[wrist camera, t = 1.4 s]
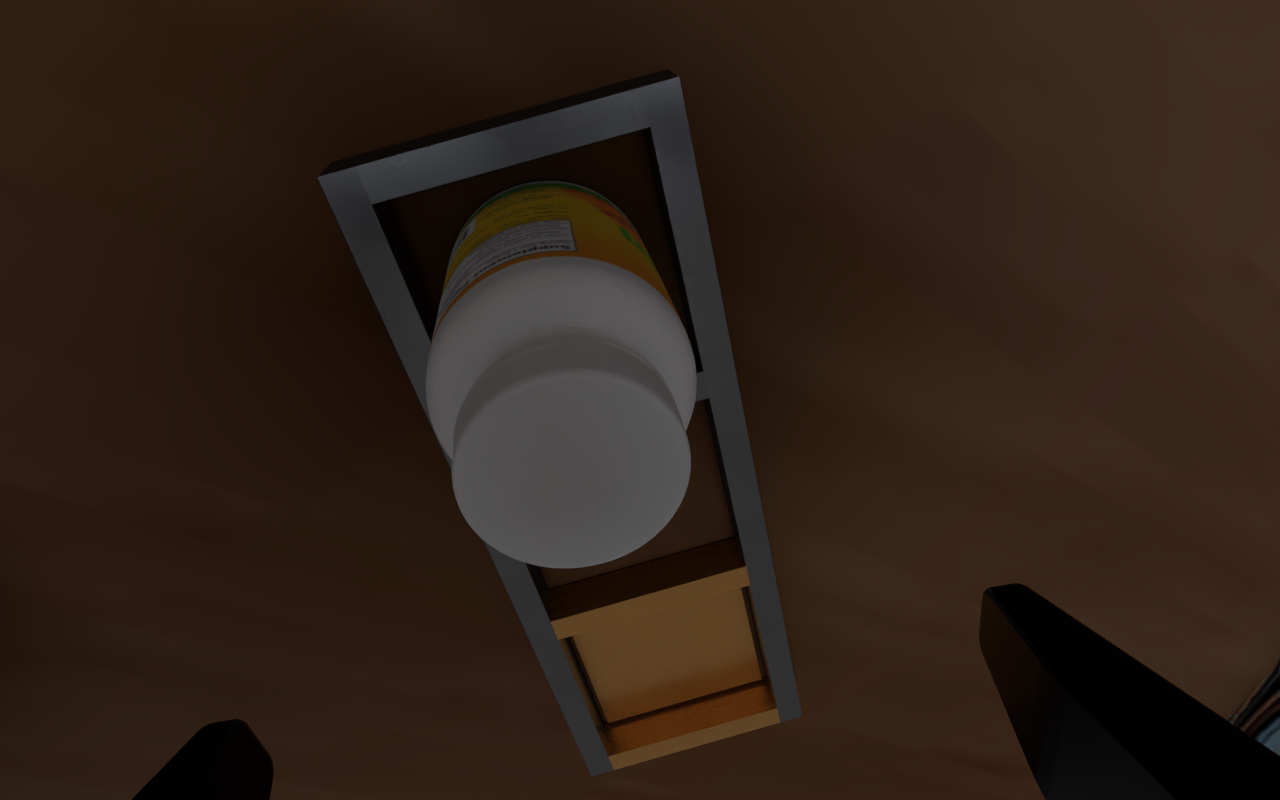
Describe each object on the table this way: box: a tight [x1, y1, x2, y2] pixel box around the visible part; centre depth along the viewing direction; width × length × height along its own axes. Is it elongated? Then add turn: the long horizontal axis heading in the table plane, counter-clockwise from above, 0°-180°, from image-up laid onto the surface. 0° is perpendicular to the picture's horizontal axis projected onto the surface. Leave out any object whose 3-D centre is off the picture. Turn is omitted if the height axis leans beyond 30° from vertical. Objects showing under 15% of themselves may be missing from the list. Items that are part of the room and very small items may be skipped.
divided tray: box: [317, 69, 802, 776], centre depth 24 cm, size 9×24×2 cm, turn 14°
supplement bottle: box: [425, 181, 697, 568], centre depth 16 cm, size 5×5×10 cm
